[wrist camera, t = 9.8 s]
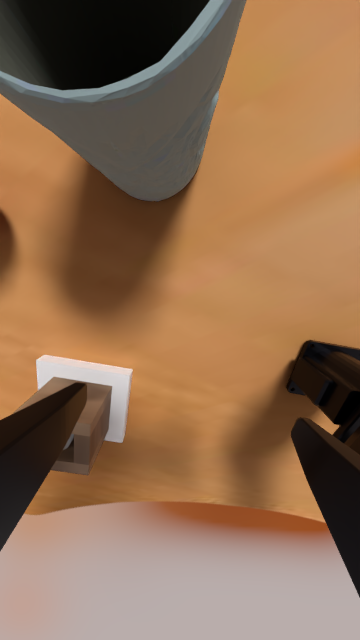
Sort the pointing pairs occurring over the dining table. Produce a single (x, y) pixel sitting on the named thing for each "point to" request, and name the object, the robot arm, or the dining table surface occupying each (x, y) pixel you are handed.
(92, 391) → the collar
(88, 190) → the dining table surface
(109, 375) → the post base
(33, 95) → the grey-blue tapered cup
